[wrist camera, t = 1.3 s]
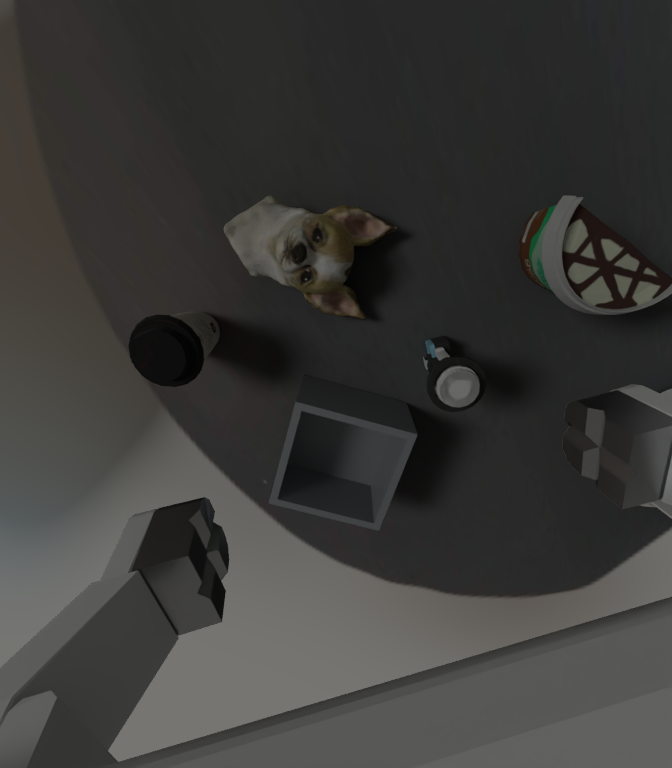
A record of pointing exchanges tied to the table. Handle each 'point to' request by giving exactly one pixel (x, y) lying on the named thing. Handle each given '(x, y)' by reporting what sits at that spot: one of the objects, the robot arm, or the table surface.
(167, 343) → the coffee cup
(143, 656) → the robot arm
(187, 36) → the table surface
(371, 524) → the bin
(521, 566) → the table surface
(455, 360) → the push button
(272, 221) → the ceramic sculpture
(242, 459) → the table surface
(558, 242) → the food container
